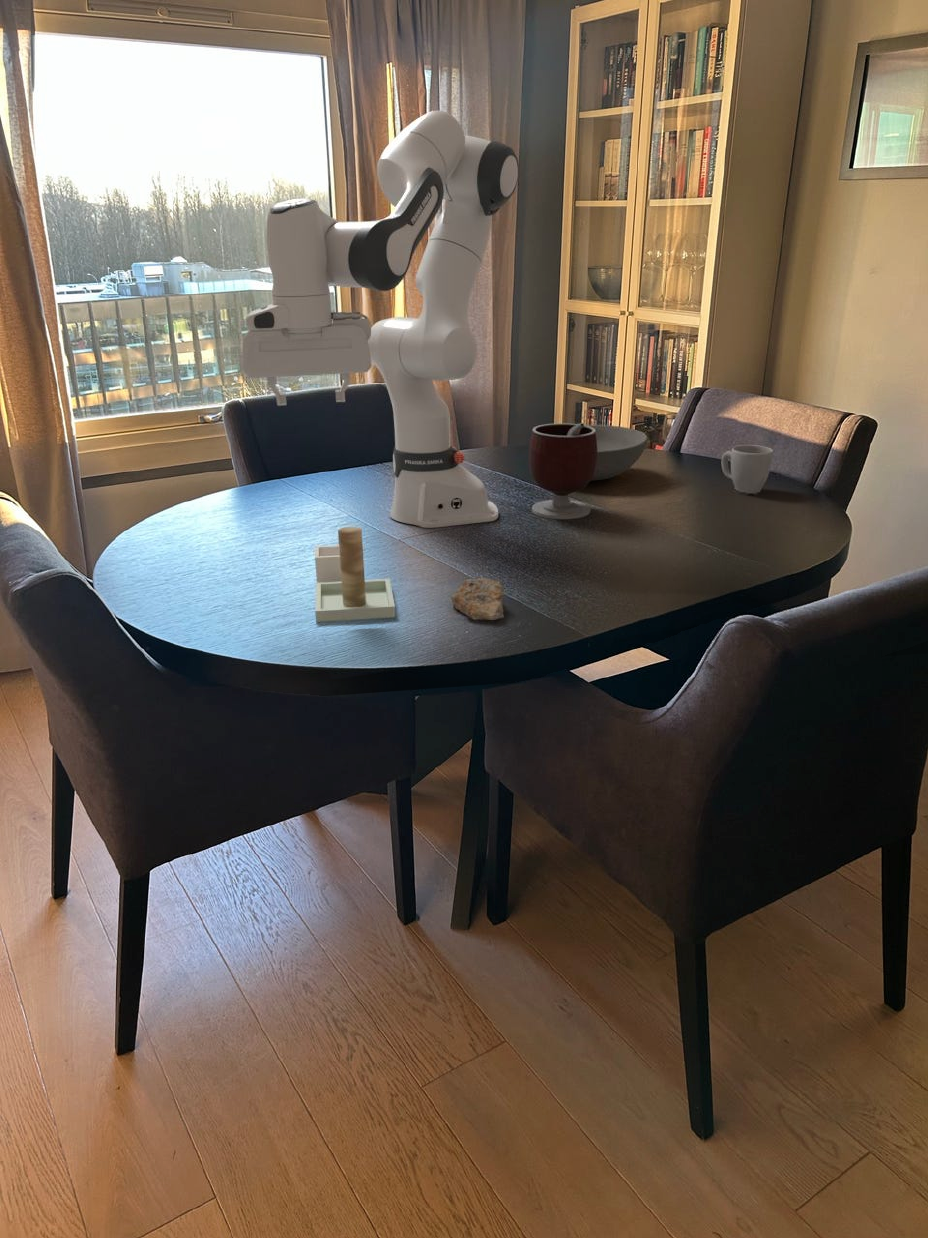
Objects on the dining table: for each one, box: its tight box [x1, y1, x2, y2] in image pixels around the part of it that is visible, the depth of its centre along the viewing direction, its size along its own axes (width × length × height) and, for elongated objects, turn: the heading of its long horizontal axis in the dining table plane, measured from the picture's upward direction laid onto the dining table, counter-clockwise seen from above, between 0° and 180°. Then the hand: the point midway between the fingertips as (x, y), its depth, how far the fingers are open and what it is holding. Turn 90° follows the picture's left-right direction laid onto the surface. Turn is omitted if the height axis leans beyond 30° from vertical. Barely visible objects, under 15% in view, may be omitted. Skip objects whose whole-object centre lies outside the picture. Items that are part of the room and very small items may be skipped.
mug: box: [720, 444, 774, 493], centre depth 205 cm, size 12×9×10 cm
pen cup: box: [314, 544, 341, 583], centre depth 154 cm, size 6×6×6 cm
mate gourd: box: [528, 422, 597, 520], centre depth 189 cm, size 16×14×20 cm
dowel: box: [337, 526, 366, 607], centre depth 142 cm, size 4×4×12 cm
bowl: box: [585, 424, 649, 482], centre depth 217 cm, size 26×26×10 cm
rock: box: [450, 577, 505, 621], centre depth 143 cm, size 9×6×10 cm
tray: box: [314, 578, 396, 623], centre depth 144 cm, size 12×12×2 cm
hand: (311, 403), depth 148 cm, fingers open, 8 cm apart
